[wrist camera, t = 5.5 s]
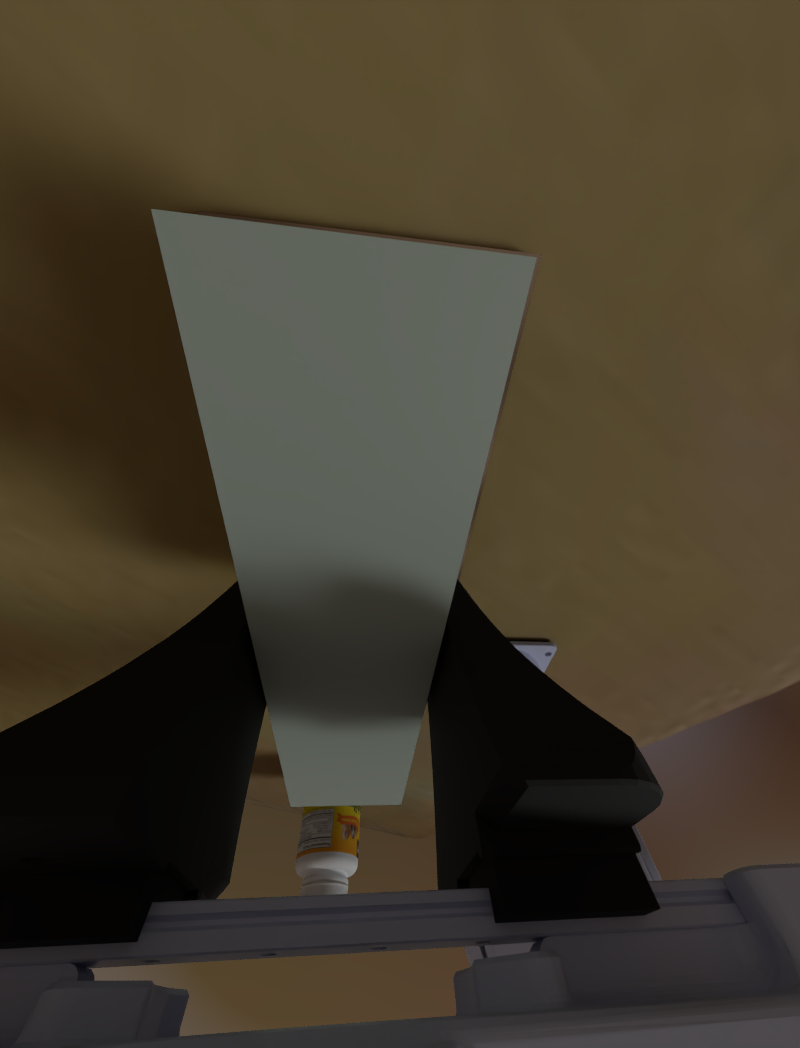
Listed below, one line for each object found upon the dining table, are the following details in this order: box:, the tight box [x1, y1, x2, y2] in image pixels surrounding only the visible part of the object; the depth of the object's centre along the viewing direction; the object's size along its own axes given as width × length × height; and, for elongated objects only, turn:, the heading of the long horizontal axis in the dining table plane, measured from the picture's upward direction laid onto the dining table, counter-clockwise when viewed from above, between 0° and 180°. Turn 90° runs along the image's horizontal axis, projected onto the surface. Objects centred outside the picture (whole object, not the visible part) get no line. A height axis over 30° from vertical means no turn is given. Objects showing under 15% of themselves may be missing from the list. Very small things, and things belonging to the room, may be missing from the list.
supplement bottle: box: [295, 805, 360, 896], centre depth 32 cm, size 6×6×10 cm
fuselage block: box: [151, 209, 537, 807], centre depth 10 cm, size 16×4×6 cm, turn 175°
